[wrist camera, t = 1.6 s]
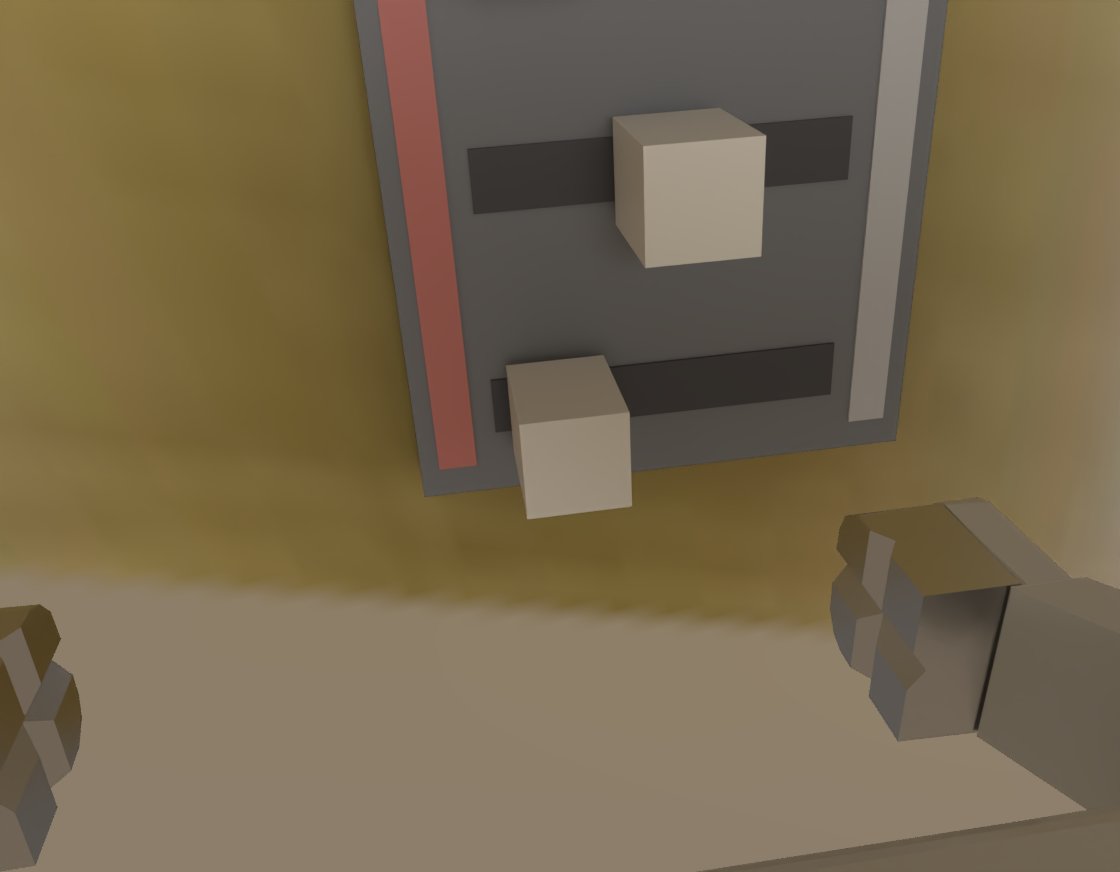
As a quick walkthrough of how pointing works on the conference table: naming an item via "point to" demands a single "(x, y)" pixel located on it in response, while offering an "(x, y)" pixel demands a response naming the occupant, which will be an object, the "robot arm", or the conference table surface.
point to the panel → (602, 251)
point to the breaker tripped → (689, 186)
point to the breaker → (570, 436)
